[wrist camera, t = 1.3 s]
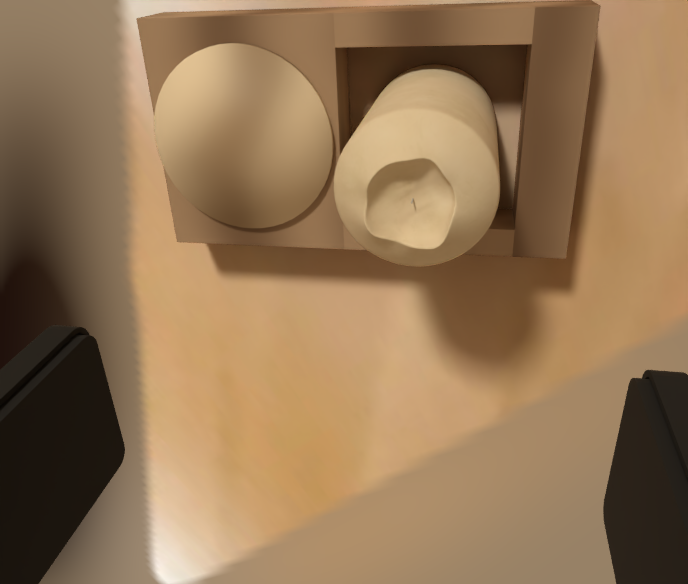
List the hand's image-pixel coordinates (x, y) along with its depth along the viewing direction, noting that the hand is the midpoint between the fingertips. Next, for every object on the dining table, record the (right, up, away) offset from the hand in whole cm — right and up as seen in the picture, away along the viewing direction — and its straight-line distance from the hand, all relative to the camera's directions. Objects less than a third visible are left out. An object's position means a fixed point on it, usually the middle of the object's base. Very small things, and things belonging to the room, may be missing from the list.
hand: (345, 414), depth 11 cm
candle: (+4, +10, +17) cm, 20 cm away
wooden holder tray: (+1, +10, +18) cm, 20 cm away
